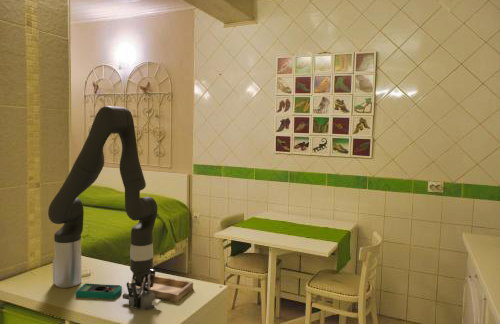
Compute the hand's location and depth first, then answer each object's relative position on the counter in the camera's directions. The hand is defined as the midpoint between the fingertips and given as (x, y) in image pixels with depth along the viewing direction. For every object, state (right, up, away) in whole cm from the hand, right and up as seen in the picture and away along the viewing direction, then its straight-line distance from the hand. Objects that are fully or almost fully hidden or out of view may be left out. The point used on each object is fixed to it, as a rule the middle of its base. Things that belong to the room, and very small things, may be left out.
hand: (141, 304), depth 135 cm
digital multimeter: (-18, 0, +8) cm, 19 cm away
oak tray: (+4, +1, +12) cm, 13 cm away
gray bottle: (0, 0, 0) cm, 1 cm away
